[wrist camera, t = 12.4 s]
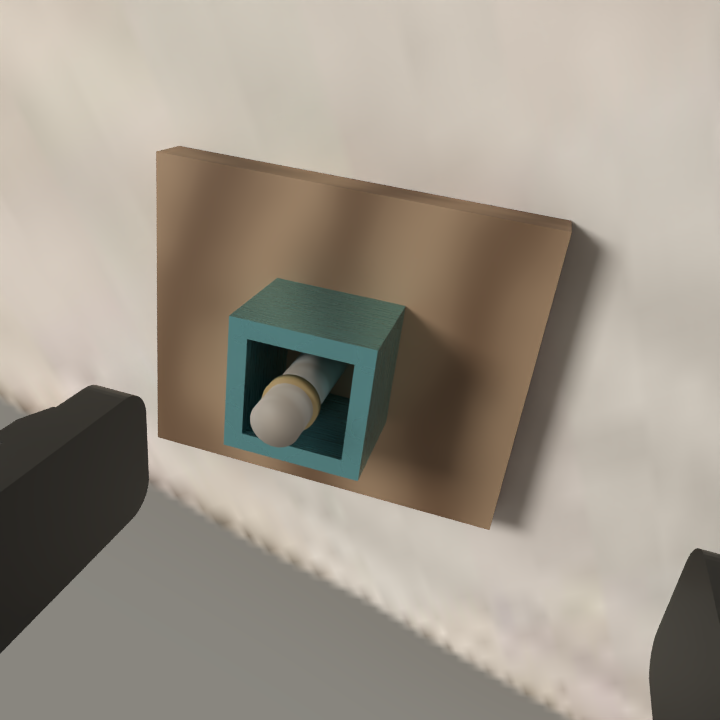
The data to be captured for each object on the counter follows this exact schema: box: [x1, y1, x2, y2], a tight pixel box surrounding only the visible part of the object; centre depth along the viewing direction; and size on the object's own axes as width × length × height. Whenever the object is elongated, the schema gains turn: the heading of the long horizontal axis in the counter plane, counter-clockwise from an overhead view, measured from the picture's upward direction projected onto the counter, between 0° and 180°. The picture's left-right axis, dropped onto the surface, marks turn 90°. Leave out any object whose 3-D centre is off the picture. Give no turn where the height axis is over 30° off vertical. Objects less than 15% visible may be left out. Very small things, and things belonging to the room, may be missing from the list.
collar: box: [224, 278, 406, 481], centre depth 29 cm, size 6×6×5 cm
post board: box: [156, 146, 572, 530], centre depth 29 cm, size 18×15×9 cm
